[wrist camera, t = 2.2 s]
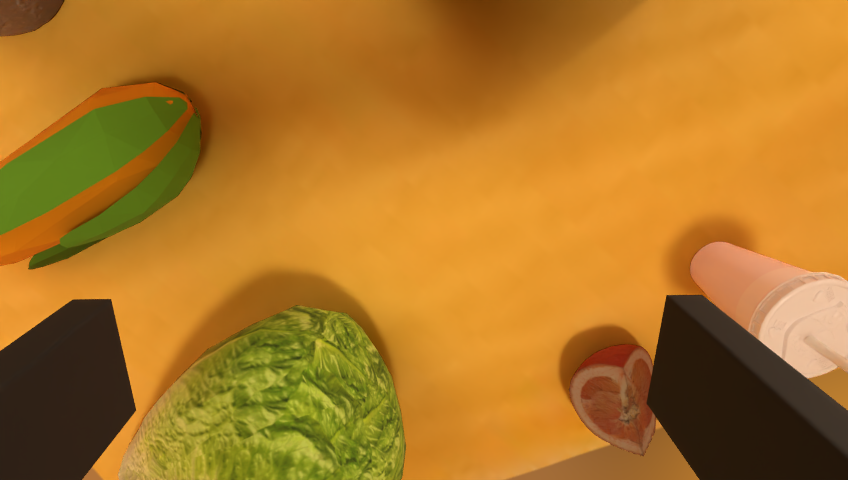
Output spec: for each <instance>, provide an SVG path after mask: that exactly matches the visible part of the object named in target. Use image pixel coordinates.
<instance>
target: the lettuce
mask: <svg viewBox="0 0 848 480" xmlns="http://www.w3.org/2000/svg"><path fill="white" fill-rule="evenodd" d="M405 451H406V443H405V437H404V430H403V423H402V416H401V410H400V406H399V403H398V399H397V395H396V391H395V387H394V384H393V380H392V376H391V374H390V372H389V371H388V369H387V367H386V365H385V363H384V361H383V359H382V357H381V356H380V354H379V352H378V351H377V349H376V348H375V346H374V345H373V343H372V342H371V340H370V339H369V337H368V336H367V335H366V333H365V332H364V330H363V329H362V327H361V326H359V325H358V324H357V323H356V322H355V321H354V320H353V319H352V318H351V317H350V316H349V315H348V314H347V313H341V312H334V311H328V310H322V309H316V308H311V307H305V306H299V305H296V306H294V307H291V308H289V309H287V310H285V311H283V312H280V313H278V314H276V315H274V316H271V317H269V318H267V319H264V320H262V321H260V322H257V323H255V324H252V325H251V326H249V327H247V328H245V329H243V330H241V331H240V332H238V333H236V334H234V335H232V336H231V337H229V338H227V339H225V340H223V341H222V342H220V343H218V344H216V345H214V346H213V347H211V348H209V349H207V350H206V351H205V352H204V353H203V354H202V355H201V356H200V357H199V358H198V359H197V360H196V361H195V362H194V363H193V364H192V365H191V366H190V367H189V368H188V369H187V370H186V371H185V372H184V373H183V374H182V375H181V376H180V377H179V378H178V379H177V380H176V381H175V382H174V383H173V384H172V385H171V387H170V388H169V389H168V390H167V391H166V392H165V393H164V394H163V395H162V396H161V397H160V399H159V400H158V401H157V402H156V403H155V405H154V406H153V407H152V409H151V410H150V411H149V413H148V414H147V415H146V416H145V418H144V419H143V422H142V424H141V426H140V428H139V430H138V431H137V433H136V434H135V436H134V438H133V439H132V441H131V443H130V444H129V446H128V448H127V450H126V452H125V454H124V456H123V459H122V463H121V467H120V470H119V473H118V477H119V480H401V479H402V475H403V467H404V459H405Z"/></svg>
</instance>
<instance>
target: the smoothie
mask: <svg viewBox="0 0 848 480" xmlns="http://www.w3.org/2000/svg"><path fill="white" fill-rule="evenodd" d="M690 273H691V277H692V279H693V280H694V281H695V283H696V284H697V285H698V286H699V287H700V288H701V289H702V290H703V292H704V293H705V294H706V295H707V296H708V297H709V298H710V299H711V300H712V302H713V303H714V304H715V305H716V306H717V307H718V308H719V309H720V310H722V311H723V312H724V313H725V314H727V315H728V316H729V317H730V318H732V319H733V320H734V321H735V322H737V323H738V324H739V325H740V326H742V327H743V328H744V329H746V330H747V331H748V332H749V333H751V334H752V335H753V336H754V337H756V338H757V339H758V340H759V341H761V342H762V343H763V344H764V345H766V346H767V347H768V348H769V349H771V350H772V351H773V352H775V353H776V354H777V355H778V356H780V357H781V358H782V359H783V360H785V361H786V362H787V363H788V364H790V365H791V366H792V367H793V368H795V369H796V370H797V371H798V372H800V373H801V374H802V375H803V376H805V377H806V378H811V377H816V376H820V375H823V374H825V373H828V372H830V371H832V370H834V369H836V368H838V367H840V368H841V369H842V370H844V371H846V372H847V373H848V281H847V280H845V279H843V278H842V277H840V276H838V275H834V274H830V273H827V272H810V271H807V270H804V269H801V268H798V267H795V266H792V265H790V264H787V263H784V262H781V261H778V260H775V259H772V258H770V257H767V256H764V255H761V254H758V253H755V252H752V251H750V250H747V249H744V248H741V247H738V246H735V245H733V244H730V243H727V242H714V243H710V244H708V245H706V246H704V247H703V248H701V249H700V250H699V251H698V252H697V253H696V254H695V256H694V258H693V259H692V262H691V265H690Z"/></svg>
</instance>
